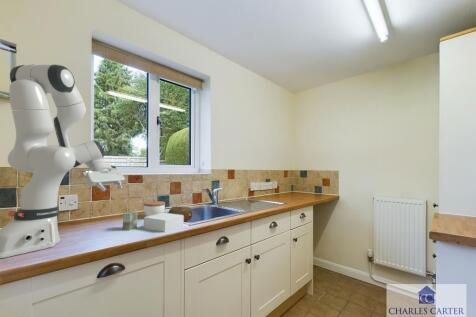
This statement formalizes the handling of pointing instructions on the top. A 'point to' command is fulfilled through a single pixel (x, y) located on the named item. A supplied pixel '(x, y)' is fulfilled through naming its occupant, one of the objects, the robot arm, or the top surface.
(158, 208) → the lidded bowl
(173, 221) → the white square box
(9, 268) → the top surface
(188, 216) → the brown rounded slab
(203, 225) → the top surface
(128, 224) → the sage block
